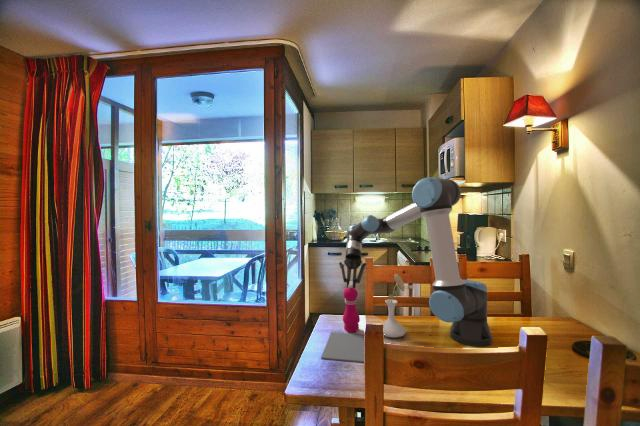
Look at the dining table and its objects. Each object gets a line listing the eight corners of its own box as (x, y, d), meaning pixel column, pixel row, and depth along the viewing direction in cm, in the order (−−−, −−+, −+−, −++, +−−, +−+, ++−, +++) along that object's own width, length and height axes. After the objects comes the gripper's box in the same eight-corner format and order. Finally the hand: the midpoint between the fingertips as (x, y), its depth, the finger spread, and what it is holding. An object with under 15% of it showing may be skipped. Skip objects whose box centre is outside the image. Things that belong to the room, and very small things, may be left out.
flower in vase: (394, 343, 117) (394, 278, 117) (371, 333, 126) (371, 273, 126) (413, 334, 126) (413, 273, 125) (391, 326, 134) (391, 269, 134)
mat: (331, 333, 127) (331, 332, 127) (369, 336, 124) (369, 335, 124) (321, 358, 105) (321, 357, 105) (367, 363, 102) (367, 361, 102)
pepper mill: (340, 326, 133) (338, 283, 129) (355, 322, 135) (354, 280, 132) (347, 334, 126) (346, 289, 123) (362, 330, 129) (362, 286, 125)
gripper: (367, 257, 149) (365, 300, 133) (341, 256, 152) (336, 299, 136) (366, 247, 144) (365, 292, 128) (339, 247, 147) (334, 290, 131)
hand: (350, 295), depth 132 cm, fingers closed
